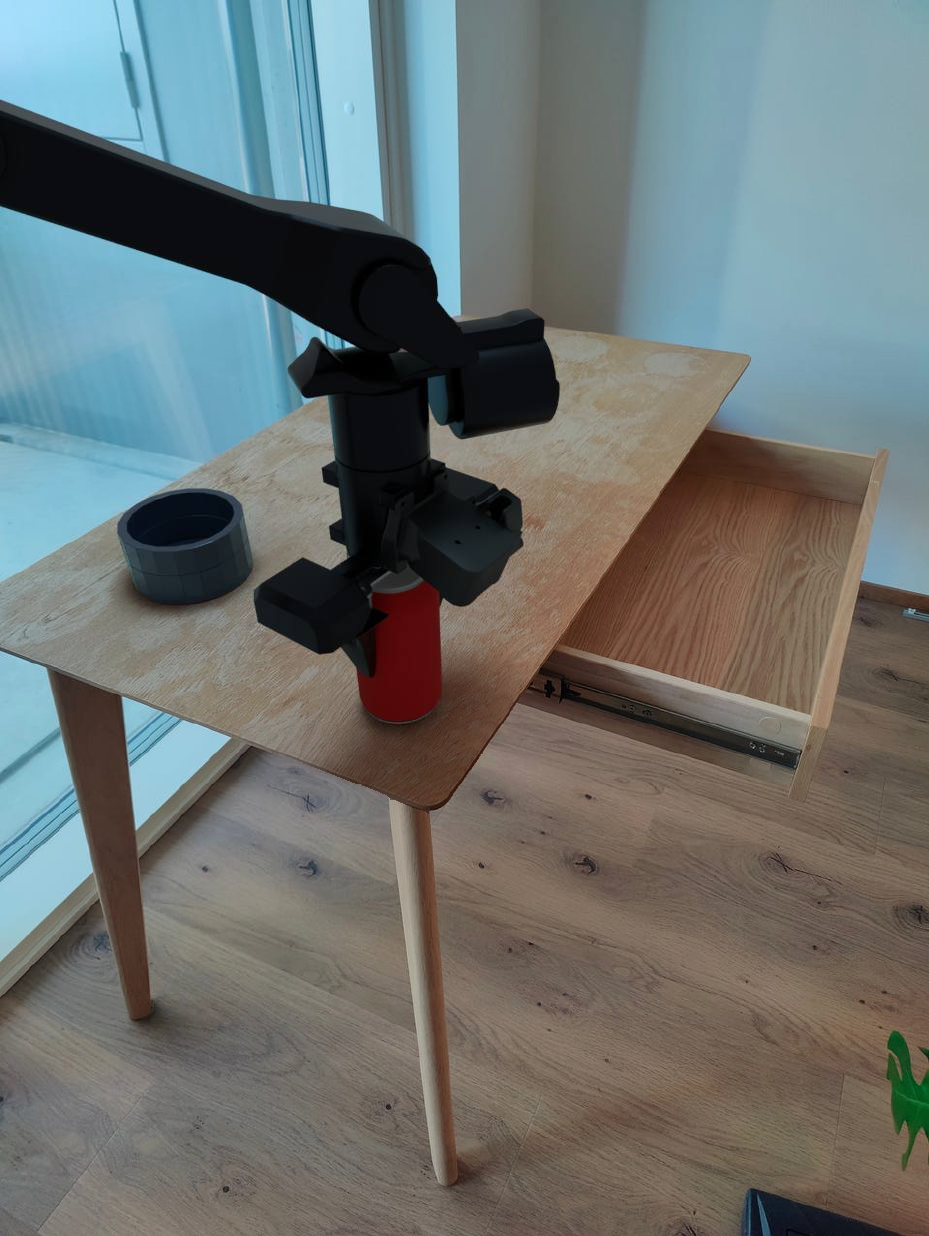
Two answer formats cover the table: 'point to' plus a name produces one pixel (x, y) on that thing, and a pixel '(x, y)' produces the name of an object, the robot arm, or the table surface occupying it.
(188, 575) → the pot
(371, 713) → the beverage can
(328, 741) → the table surface
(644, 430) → the table surface
